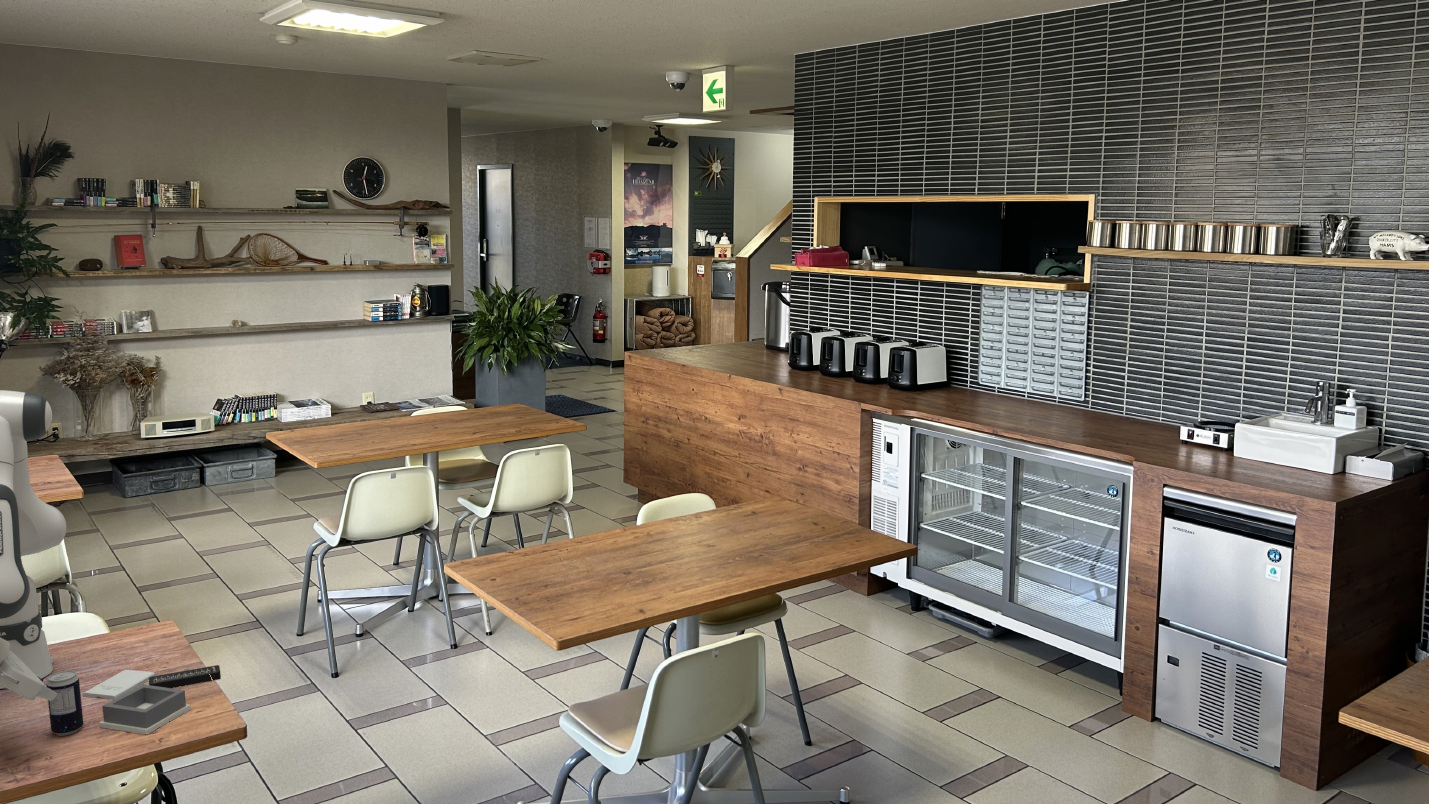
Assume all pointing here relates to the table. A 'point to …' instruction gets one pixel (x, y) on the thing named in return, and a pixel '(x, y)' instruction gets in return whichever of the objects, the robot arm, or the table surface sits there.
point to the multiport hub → (186, 677)
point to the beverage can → (65, 703)
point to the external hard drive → (119, 684)
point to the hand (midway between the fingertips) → (47, 689)
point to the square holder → (144, 709)
